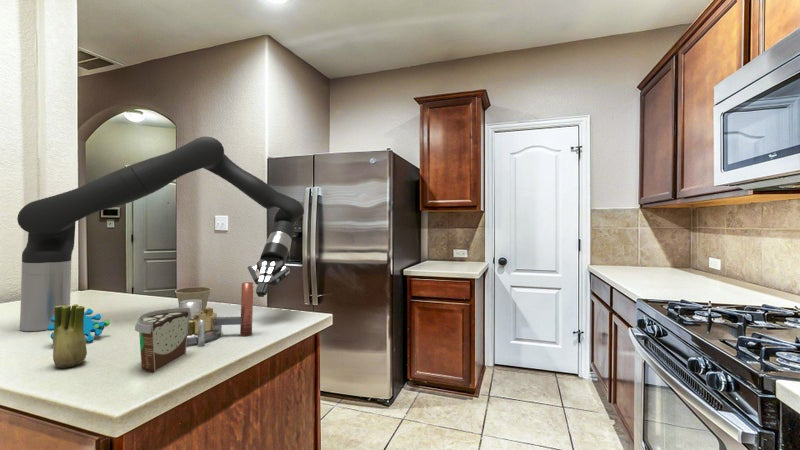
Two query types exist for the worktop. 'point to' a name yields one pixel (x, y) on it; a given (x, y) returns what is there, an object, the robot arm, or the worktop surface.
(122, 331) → the worktop surface
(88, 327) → the blue spiky virus model
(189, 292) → the flower pot
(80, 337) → the fennel bulb
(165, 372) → the worktop surface
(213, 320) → the reddish rod with blocks
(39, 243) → the robot arm
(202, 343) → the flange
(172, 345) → the food container
